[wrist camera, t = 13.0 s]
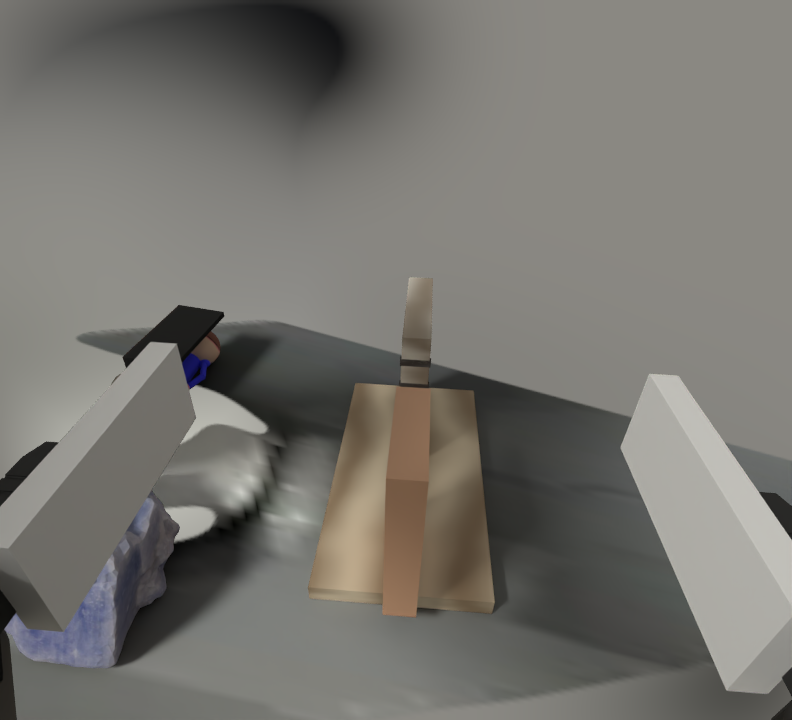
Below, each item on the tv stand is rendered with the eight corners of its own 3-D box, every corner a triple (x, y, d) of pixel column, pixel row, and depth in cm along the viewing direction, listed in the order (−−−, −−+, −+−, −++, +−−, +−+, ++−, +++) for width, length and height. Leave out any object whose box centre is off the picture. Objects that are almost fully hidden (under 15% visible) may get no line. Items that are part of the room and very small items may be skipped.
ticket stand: (309, 598, 38) (291, 452, 30) (355, 393, 60) (353, 274, 51) (492, 613, 38) (528, 469, 29) (472, 400, 59) (489, 281, 50)
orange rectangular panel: (382, 614, 35) (385, 478, 28) (391, 516, 43) (396, 386, 35) (416, 617, 35) (428, 481, 28) (419, 518, 42) (430, 388, 35)
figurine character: (179, 440, 54) (236, 353, 66) (157, 389, 49) (224, 305, 61) (122, 431, 55) (189, 347, 67) (96, 381, 50) (172, 299, 62)
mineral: (126, 576, 29) (-63, 581, 28) (149, 674, 34) (-14, 682, 33) (192, 432, 42) (65, 430, 41) (203, 516, 47) (88, 517, 46)
